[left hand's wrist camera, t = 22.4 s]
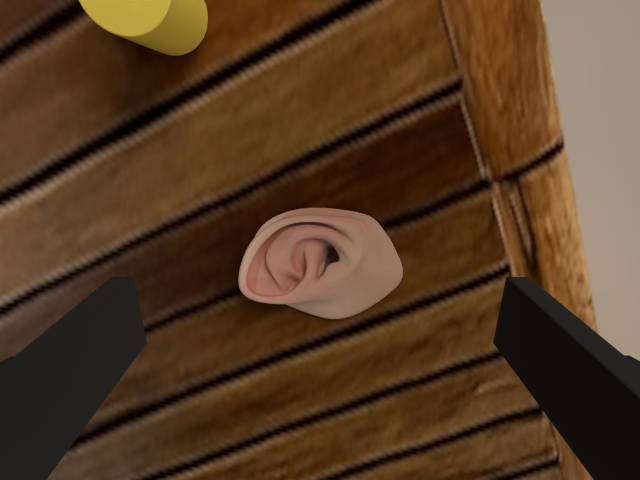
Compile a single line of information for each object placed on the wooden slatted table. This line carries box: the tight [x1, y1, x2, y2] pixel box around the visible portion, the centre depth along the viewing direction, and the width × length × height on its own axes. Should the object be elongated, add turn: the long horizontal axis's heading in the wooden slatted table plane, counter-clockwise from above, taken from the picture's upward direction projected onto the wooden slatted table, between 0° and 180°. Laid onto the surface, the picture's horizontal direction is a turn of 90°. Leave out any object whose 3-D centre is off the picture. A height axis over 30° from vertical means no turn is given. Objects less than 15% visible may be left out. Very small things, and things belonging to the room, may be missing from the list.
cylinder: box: [79, 0, 208, 56], centre depth 23 cm, size 5×5×7 cm
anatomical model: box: [238, 208, 403, 319], centre depth 31 cm, size 13×4×12 cm
